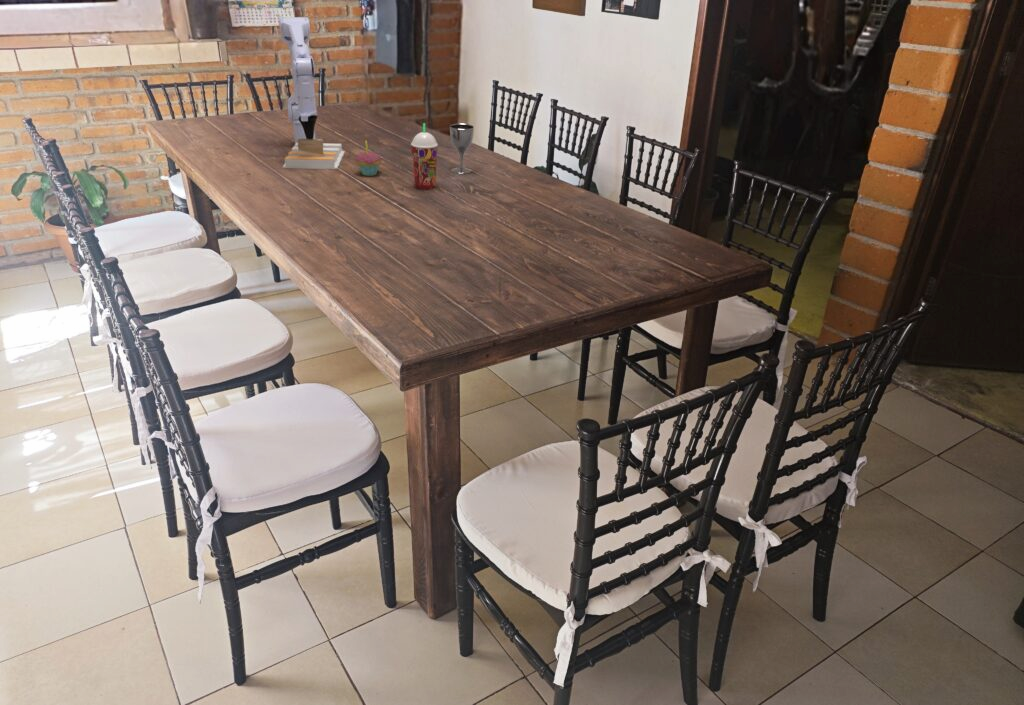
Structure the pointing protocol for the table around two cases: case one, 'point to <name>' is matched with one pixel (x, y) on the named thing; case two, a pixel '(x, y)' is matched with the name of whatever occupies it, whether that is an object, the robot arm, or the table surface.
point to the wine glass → (461, 142)
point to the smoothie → (424, 159)
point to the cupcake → (368, 162)
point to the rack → (315, 158)
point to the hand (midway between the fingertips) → (309, 138)
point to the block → (311, 147)
